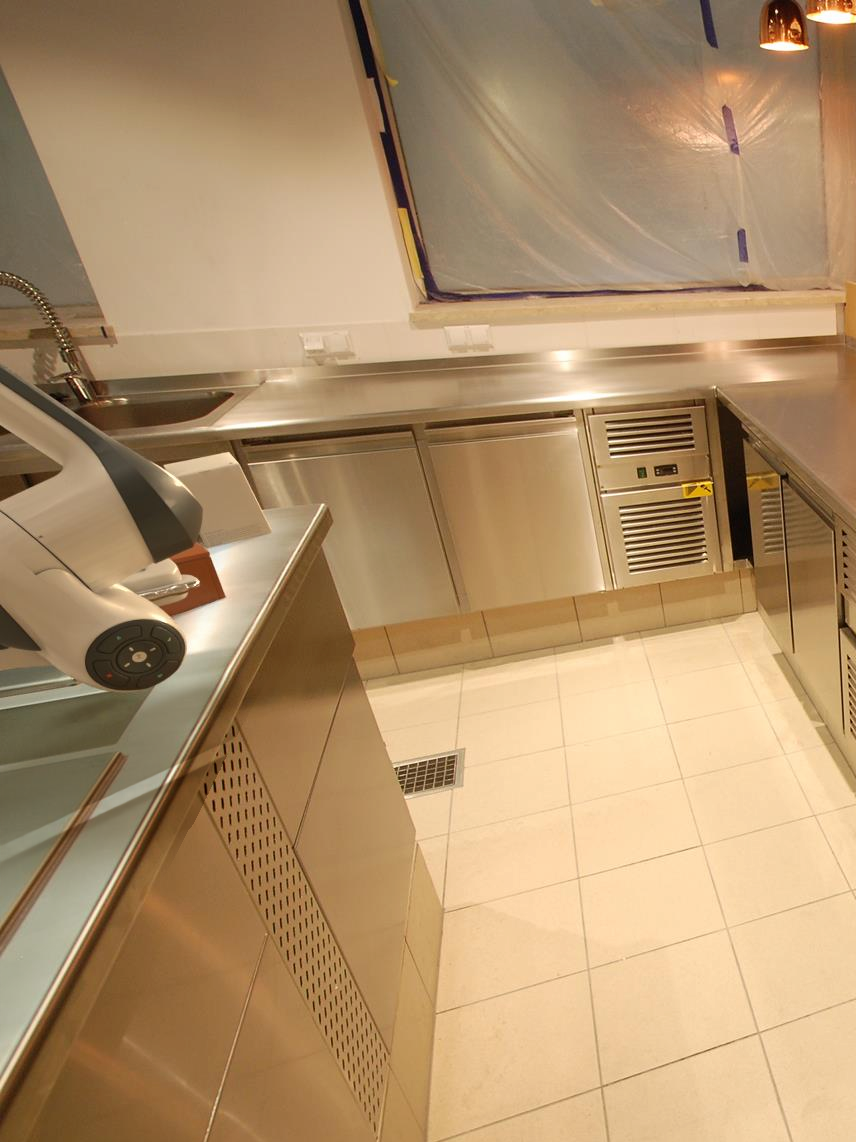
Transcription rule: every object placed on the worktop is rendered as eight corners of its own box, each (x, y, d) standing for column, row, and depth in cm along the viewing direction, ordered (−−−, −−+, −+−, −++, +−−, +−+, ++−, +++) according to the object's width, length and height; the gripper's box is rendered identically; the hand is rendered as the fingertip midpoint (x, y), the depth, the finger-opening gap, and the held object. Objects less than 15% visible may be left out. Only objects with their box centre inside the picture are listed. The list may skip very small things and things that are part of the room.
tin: (99, 624, 114) (72, 564, 111) (201, 598, 123) (180, 542, 119) (128, 643, 109) (101, 581, 106) (232, 614, 118) (210, 556, 114)
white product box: (270, 532, 147) (231, 450, 139) (281, 548, 141) (240, 462, 133) (206, 548, 141) (161, 463, 133) (214, 565, 136) (168, 477, 128)
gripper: (196, 556, 89) (145, 532, 95) (-93, 620, 73) (-130, 586, 79) (216, 611, 91) (166, 584, 98) (-58, 683, 76) (-96, 645, 82)
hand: (31, 585), depth 89 cm, fingers closed on candle, 5 cm apart
